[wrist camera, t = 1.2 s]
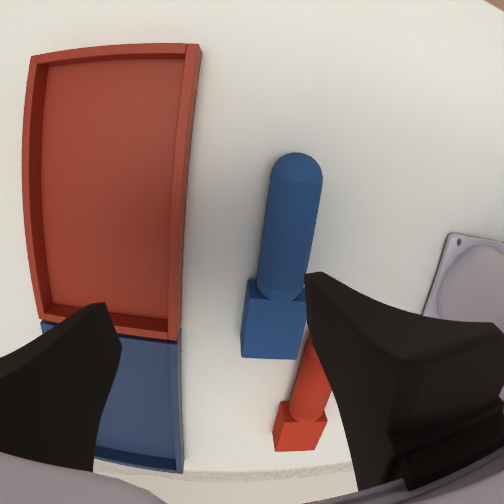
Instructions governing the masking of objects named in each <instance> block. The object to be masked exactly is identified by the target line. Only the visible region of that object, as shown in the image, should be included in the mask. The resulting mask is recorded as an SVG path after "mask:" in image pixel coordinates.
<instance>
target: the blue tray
mask: <svg viewBox="0 0 504 504" xmlns="http://www.w3.org/2000/svg"><path fill="white" fill-rule="evenodd" d="M57 324H59V323H57V322H52V321H47V320H42V321H41V323H40V325H41V329H42V333H43V334H44V333H45V332H47V331H48V330H50V329H51V328H53V327H54V326H56V325H57ZM117 334H118V337H119V339H120V342H121V344H122V352H121V358H120V362H119V367H118V371H117V373H116V376H115V379H114V382H113V385H112V388H111V390H110V393H109V396H108V399H107V402H106V404H105V407H104V410H103V413H102V417H101V420H100V424H99V429H98V434H97V440H96V446H95V454H94V459H98V460H102V461H107V462H111V463H116V464H121V465H126V466H131V467H136V468H142V469H148V470H155V471H162V472H169V473H178V474H183V468H184V446H183V425H182V395H181V328H180V330H179V335H178V339H177V341H175V340H168V339H167V340H166V339H158V338H150V337H142V336H135V335H127V334H120V333H117Z"/></svg>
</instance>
